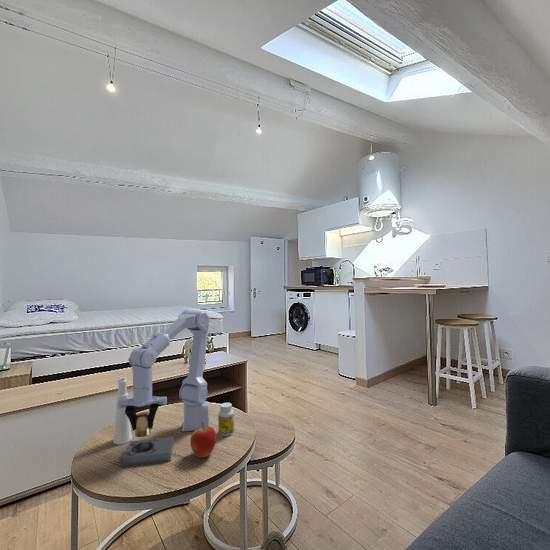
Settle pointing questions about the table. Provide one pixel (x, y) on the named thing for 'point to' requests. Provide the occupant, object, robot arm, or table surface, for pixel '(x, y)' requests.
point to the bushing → (142, 424)
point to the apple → (203, 441)
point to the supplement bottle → (226, 419)
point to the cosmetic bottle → (122, 416)
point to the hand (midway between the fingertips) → (142, 428)
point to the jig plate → (157, 451)
